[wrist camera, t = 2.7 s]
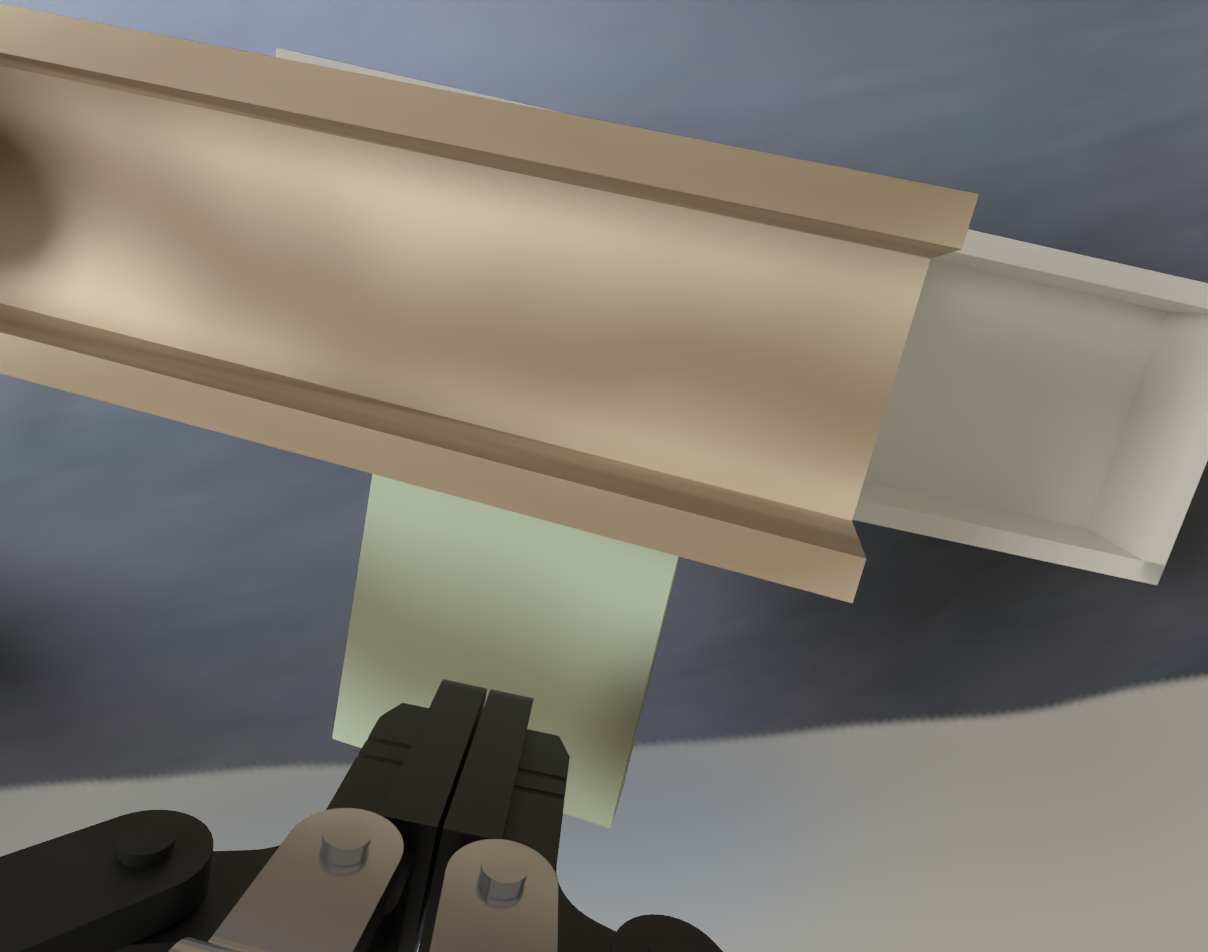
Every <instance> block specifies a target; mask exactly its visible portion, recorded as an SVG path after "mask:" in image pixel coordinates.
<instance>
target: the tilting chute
mask: <svg viewBox="0 0 1208 952" xmlns="http://www.w3.org/2000/svg"><path fill="white" fill-rule="evenodd" d="M978 195H979V194H976V193H971V192H966V191H961V190H956V189H951V188H945V187H940V186H935V185H930V184H925V183H920V182H915V181H910V180H904V179H899V178H894V177H889V176H884V175H879V174H874V173H868V172H863V171H858V170H853V169H848V168H843V167H838V166H832V165H827V164H822V163H817V162H812V161H807V160H802V159H796V158H791V157H786V156H781V155H776V154H771V153H766V152H760V151H755V150H750V149H745V148H740V147H735V146H730V145H724V144H719V143H714V142H709V141H704V140H699V139H694V138H689V137H683V136H678V135H673V134H668V133H663V132H658V131H653V130H647V129H642V128H637V127H632V126H627V125H622V124H617V123H611V122H606V121H601V120H596V119H591V118H586V117H581V116H575V115H570V114H565V113H560V112H555V111H550V110H545V109H539V108H534V107H529V106H524V105H519V104H514V103H509V102H504V101H498V100H493V99H488V98H483V97H478V96H473V95H468V94H462V93H457V92H452V91H447V90H442V89H437V88H432V87H426V86H421V85H416V84H411V83H406V82H401V81H396V80H390V79H385V78H380V77H375V76H370V75H365V74H360V73H354V72H349V71H344V70H339V69H334V68H329V67H324V66H319V65H313V64H308V63H303V62H298V61H293V60H288V59H283V58H277V57H272V56H267V55H262V54H257V53H252V52H247V51H241V50H236V49H231V48H226V47H221V46H216V45H211V44H205V43H200V42H195V41H190V40H185V39H180V38H175V37H169V36H164V35H159V34H154V33H149V32H144V31H139V30H133V29H128V28H123V27H118V26H113V25H108V24H103V23H98V22H92V21H87V20H82V19H77V18H72V17H67V16H62V15H56V14H51V13H46V12H41V11H36V10H31V9H26V8H20V7H15V6H10V5H5V4H0V373H1V374H5V375H9V376H12V377H16V378H20V379H23V380H27V381H31V382H34V383H38V384H42V385H46V386H49V387H53V388H57V389H60V390H64V391H68V392H72V393H75V394H79V395H83V396H86V397H90V398H94V399H97V400H101V401H105V402H109V403H112V404H116V405H120V406H123V407H127V408H131V409H134V410H138V411H142V412H146V413H149V414H153V415H157V416H160V417H164V418H168V419H172V420H175V421H179V422H183V423H186V424H190V425H194V426H197V427H201V428H205V429H209V430H212V431H216V432H220V433H223V434H227V435H231V436H235V437H238V438H242V439H246V440H249V441H253V442H257V443H260V444H264V445H268V446H272V447H275V448H279V449H283V450H286V451H290V452H294V453H297V454H301V455H305V456H309V457H312V458H316V459H320V460H323V461H327V462H331V463H335V464H338V465H342V466H346V467H349V468H353V469H357V470H360V471H364V472H368V473H372V481H371V487H370V494H369V500H368V507H367V514H366V520H365V527H364V533H363V540H362V546H361V553H360V560H359V566H358V573H357V579H356V586H355V593H354V599H353V606H352V612H351V619H350V626H349V632H348V639H347V645H346V652H345V658H344V665H343V672H342V678H341V685H340V691H339V698H338V705H337V711H336V718H335V724H334V731H333V737H332V739H335V740H338V741H341V742H344V743H347V744H350V745H353V746H357V747H360V748H362V747H363V745H364V743H365V742H366V740H368V737H369V735H370V733H371V731H372V729H373V728H374V726H375V724H376V722H377V721H378V719H379V717H380V716H382V715H383V714H385V713H387V712H388V711H390V710H391V709H393V708H395V707H396V706H398V705H399V704H401V703H407V704H411V705H416V706H421V707H425V708H429V707H430V705H431V703H432V701H433V698H434V696H435V694H436V692H437V690H438V688H439V686H440V684H441V682H442V680H443V679H445V680H450V681H455V682H459V683H464V684H469V685H474V686H478V687H483V688H487V694H486V700H487V697H488V694H489V692H490V689H493V690H498V691H502V692H507V693H512V694H516V695H521V696H526V697H530V698H534V700H533V704H532V709H531V714H530V718H529V723H528V727H527V729H529V730H534V731H539V732H543V733H548V734H553V735H557V736H559V737H560V739H561V740H562V742H563V744H564V746H565V748H566V750H567V752H568V754H569V756H570V759H569V767H568V775H567V781H566V782H567V784H566V792H565V798H564V808H563V813H564V814H567V815H571V816H574V817H577V818H580V819H583V820H586V821H589V822H592V823H595V824H598V825H602V826H605V827H608V828H611V825H612V821H613V818H614V815H615V812H616V809H617V805H618V802H619V799H620V796H621V793H622V789H623V786H624V782H625V777H626V773H627V770H628V765H629V762H630V758H631V754H632V750H633V746H634V742H635V738H636V734H637V730H638V726H639V722H640V718H641V714H642V710H643V706H644V702H645V698H646V694H647V690H648V686H649V682H650V678H651V674H652V670H653V666H654V662H655V658H656V654H657V650H658V646H659V642H660V638H661V634H662V630H663V626H664V622H665V618H666V614H667V610H668V606H669V602H670V598H671V594H672V590H673V586H674V582H675V578H676V574H677V570H678V566H679V562H680V558H681V557H683V558H686V559H690V560H694V561H698V562H701V563H705V564H709V565H712V566H716V567H720V568H724V569H727V570H731V571H735V572H738V573H742V574H746V575H749V576H753V577H757V578H761V579H764V580H768V581H772V582H775V583H779V584H783V585H786V586H790V587H794V588H798V589H801V590H805V591H809V592H812V593H816V594H820V595H824V596H827V597H831V598H835V599H838V600H842V601H846V602H849V603H853V601H854V597H855V594H856V591H857V588H858V584H859V581H860V578H861V575H862V571H863V568H864V565H865V562H866V556H865V554H864V551H863V549H862V546H861V543H860V541H859V538H858V535H857V533H856V530H855V527H854V525H853V522H852V519H853V516H854V513H855V509H856V506H857V503H858V499H859V496H860V493H861V489H862V486H863V483H864V479H865V476H866V473H867V469H868V466H869V463H870V459H871V456H872V453H873V449H874V446H875V443H876V439H877V436H878V433H879V429H880V426H881V423H882V419H883V416H884V413H885V409H886V406H887V403H888V399H889V396H890V393H891V390H892V386H893V383H894V380H895V376H896V373H897V370H898V366H899V363H900V360H901V356H902V353H903V350H904V346H905V343H906V340H907V336H908V333H909V330H910V326H911V323H912V320H913V316H914V313H915V310H916V306H917V303H918V300H919V296H920V293H921V290H922V286H923V283H924V280H925V276H926V273H927V270H928V266H929V263H930V260H931V258H935V257H938V256H941V255H944V254H948V253H951V252H954V251H957V250H961V249H962V247H963V244H964V241H965V238H966V234H967V231H968V228H969V225H970V221H971V218H972V215H973V212H974V208H975V205H976V202H977V199H978ZM486 700H485V703H486ZM484 706H485V705H484Z"/></svg>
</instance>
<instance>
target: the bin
mask: <svg viewBox="0 0 1208 952" xmlns="http://www.w3.org/2000/svg"><path fill="white" fill-rule="evenodd" d="M1207 461H1208V283H1204V282H1200V281H1195V280H1191V279H1187V278H1182V277H1178V276H1173V275H1169V274H1164V273H1160V272H1155V271H1151V270H1147V269H1142V268H1138V267H1133V266H1129V265H1124V264H1120V263H1116V262H1111V261H1107V260H1102V259H1098V258H1093V257H1089V256H1085V255H1080V254H1076V253H1071V252H1067V251H1062V250H1058V249H1054V248H1049V247H1045V246H1040V245H1036V244H1031V243H1027V242H1023V241H1018V240H1014V239H1009V238H1005V237H1000V236H996V235H992V234H987V233H983V232H978V231H974V230H969V229H968V231H967V234H966V238H965V241H964V244H963V247H962V249H961V250H957V251H954V252H951V253H948V254H944V255H941V256H938V257H935V258H931V260H930V263H929V266H928V270H927V273H926V276H925V280H924V283H923V286H922V290H921V293H920V296H919V300H918V303H917V306H916V310H915V313H914V316H913V320H912V323H911V326H910V330H909V333H908V336H907V340H906V343H905V346H904V350H903V353H902V356H901V360H900V363H899V366H898V370H897V373H896V376H895V380H894V383H893V386H892V390H891V393H890V396H889V399H888V403H887V406H886V409H885V413H884V416H883V419H882V423H881V426H880V429H879V433H878V436H877V439H876V443H875V446H874V449H873V453H872V456H871V459H870V463H869V466H868V469H867V473H866V476H865V479H864V483H863V486H862V489H861V493H860V496H859V499H858V503H857V506H856V509H855V513H854V516H853V519H852V520H856V521H861V522H865V523H870V524H874V525H879V526H884V527H888V528H893V529H898V530H902V531H907V532H912V533H916V534H921V535H926V536H930V537H935V538H939V539H944V540H949V541H953V542H958V543H963V544H967V545H972V546H977V547H981V548H986V549H991V550H995V551H1000V552H1004V553H1009V554H1014V555H1018V556H1023V557H1028V558H1032V559H1037V560H1042V561H1046V562H1051V563H1055V564H1060V565H1065V566H1069V567H1074V568H1079V569H1083V570H1088V571H1093V572H1097V573H1102V574H1107V575H1111V576H1116V577H1120V578H1125V579H1130V580H1134V581H1139V582H1144V583H1148V584H1153V585H1158V582H1159V580H1160V577H1161V575H1162V573H1163V570H1164V568H1165V565H1166V563H1167V560H1168V558H1169V555H1170V553H1171V550H1172V548H1173V545H1174V543H1175V540H1176V538H1177V535H1178V533H1179V530H1180V528H1181V525H1182V523H1183V520H1184V518H1185V515H1186V513H1187V510H1188V508H1189V505H1190V503H1191V500H1192V498H1193V495H1194V493H1195V490H1196V488H1197V485H1198V483H1199V480H1200V478H1201V475H1202V473H1203V470H1204V468H1205V465H1206V463H1207Z"/></svg>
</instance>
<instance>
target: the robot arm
mask: <svg viewBox="0 0 1208 952" xmlns="http://www.w3.org/2000/svg"><path fill="white" fill-rule="evenodd" d="M486 694H487V688H483V687H478V686H474V685H469V684H464V683H459V682H455V681H450V680H445V679H443V680H442V682H441V684H440V686H439V688H438V690H437V692H436V694H435V696H434V698H433V701H432V703H431V705H430V707H429V708H425V707H421V706H416V705H411V704H407V703H401V704H399V705H398V706H396V707H395V708H393V709H391V710H390V711H388V712H387V713H385V714H383V715H382V716H380V717H379V719H378V721H377V722H376V724H375V726H374V728H373V729H372V731H371V733H370V735H369V737H368V740H366V742H365V743H364V745H363V747H362V749H361V750H360V752H359V755H358V757H356V759H355V761H354V762H353V764H352V766H351V768H350V769H349V771H348V773H347V775H346V776H345V778H344V780H343V782H342V783H341V785H340V787H339V789H338V790H337V792H336V794H335V796H334V797H333V799H332V801H331V802H330V804H329V806H328V808H327V809H326V810H325V811H322V812H318V813H316V814H313V815H311V816H309V817H307V818H305V819H304V820H302V821H301V822H300V823H298V824H297V825H296V826H295V827H294V828H293V829H292V831H291V832H290V833H289V834H288V836H287V837H286V838H285V840H284V841H283V842H282V844H281V845H279V846H276V847H272V848H267V849H260V850H247V851H246V850H244V851H213V838H212V834H211V832H210V831H209V829H208V828H207V826H206V825H205V824H204V823H202V822H201V821H200V820H198V819H196V818H195V817H193V816H190V815H188V814H185V813H181V812H176V811H168V810H148V811H140V812H134V813H130V814H127V815H123V816H120V817H117V818H114V819H111V820H108V821H105V822H102V823H99V824H96V825H93V826H90V827H87V828H84V829H81V830H79V831H75V832H72V833H69V834H66V835H64V836H61V837H58V838H55V839H52V840H49V841H46V842H43V843H40V844H37V845H34V846H31V847H28V848H26V849H22V850H19V851H16V852H14V853H11V854H8V855H4V856H2V857H0V952H417V949H418V946H419V943H420V946H419V951H418V952H723V951H722V950H721V949H720V948H719V947H718V946H717V945H716V944H715V943H714V942H713V941H712V940H711V939H710V938H709V937H708V936H707V935H706V934H704V933H703V932H702V931H700V930H699V929H697V928H696V927H694V926H693V925H691V924H689V923H687V922H685V921H682V920H680V919H677V918H673V917H670V916H664V915H643V916H639V917H635V918H633V919H631V920H629V921H627V922H626V923H624V924H623V925H622V926H621V927H620V928H619V929H618V931H617V932H616V931H613V930H611V929H610V928H607V927H605V926H603V925H601V924H599V923H597V922H596V921H594V920H592V919H590V918H589V917H587V916H586V915H584V914H583V913H582V912H580V911H579V910H578V909H577V908H575V906H574V905H572V904H571V902H570V901H569V900H568V899H567V898H566V896H565V895H564V893H563V891H562V890H561V888H560V885H559V883H558V880H557V875H556V864H557V855H558V848H559V839H560V832H561V824H562V816H563V808H564V798H565V792H566V784H567V782H566V781H567V775H568V767H569V759H570V756H569V754H568V752H567V750H566V748H565V746H564V744H563V742H562V740H561V739H560V737H559V736H557V735H553V734H548V733H543V732H539V731H534V730H529V729H527V727H528V723H529V718H530V714H531V709H532V704H533V700H534V698H530V697H526V696H521V695H516V694H512V693H507V692H502V691H498V690H493V689H490V692H489V694H488V697H487V700H486ZM485 700H486V703H485ZM484 705H485V706H484Z"/></svg>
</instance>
